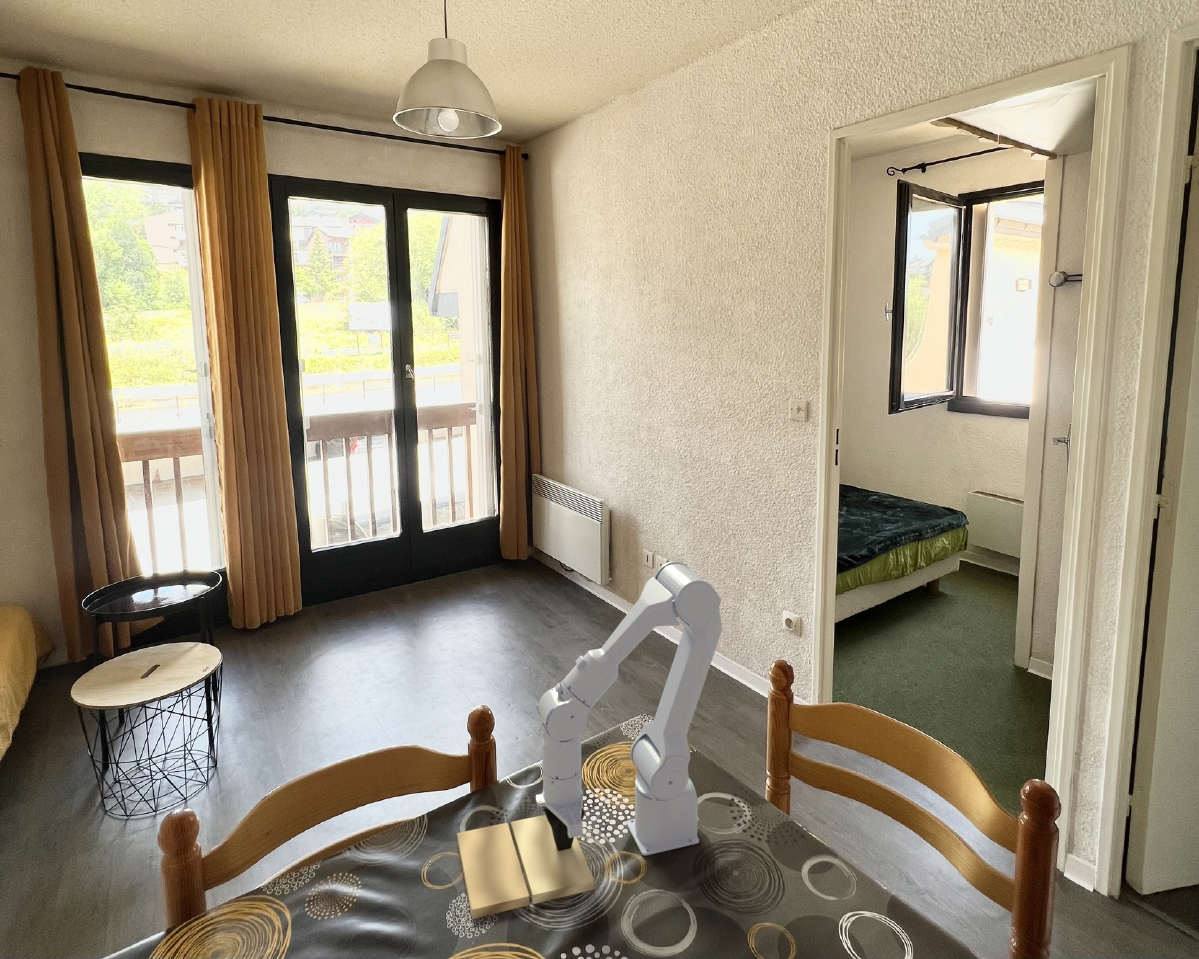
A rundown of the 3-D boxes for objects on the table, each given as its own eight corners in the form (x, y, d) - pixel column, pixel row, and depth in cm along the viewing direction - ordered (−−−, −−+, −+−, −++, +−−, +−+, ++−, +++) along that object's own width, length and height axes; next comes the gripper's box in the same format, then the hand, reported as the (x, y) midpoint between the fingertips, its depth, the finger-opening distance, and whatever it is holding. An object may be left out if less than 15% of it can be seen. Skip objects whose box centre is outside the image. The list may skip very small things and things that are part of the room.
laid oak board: (507, 830, 120) (507, 822, 119) (529, 905, 105) (529, 896, 104) (457, 841, 117) (456, 833, 117) (472, 919, 102) (471, 909, 102)
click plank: (565, 818, 122) (565, 810, 122) (594, 889, 107) (594, 880, 107) (510, 830, 120) (510, 821, 119) (533, 904, 105) (532, 895, 104)
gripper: (525, 746, 116) (527, 822, 119) (547, 803, 103) (549, 887, 106) (568, 738, 118) (570, 813, 121) (596, 793, 105) (597, 876, 108)
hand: (563, 847), depth 114 cm, fingers closed, pressing on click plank
